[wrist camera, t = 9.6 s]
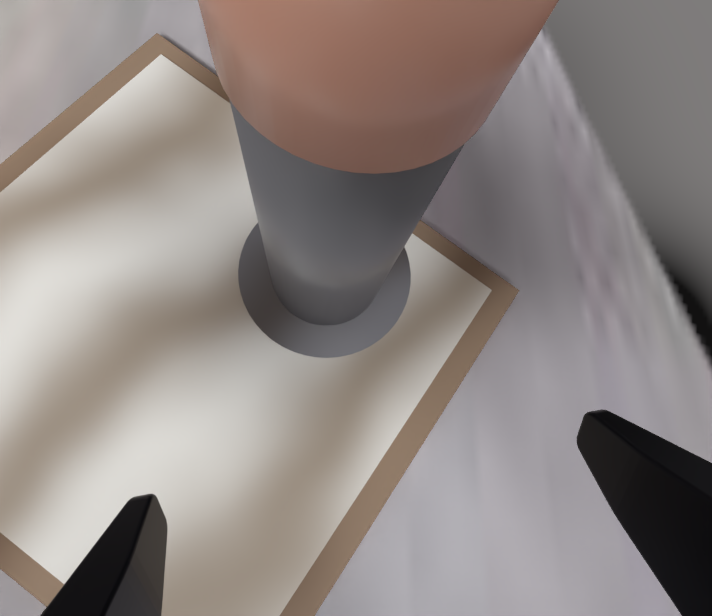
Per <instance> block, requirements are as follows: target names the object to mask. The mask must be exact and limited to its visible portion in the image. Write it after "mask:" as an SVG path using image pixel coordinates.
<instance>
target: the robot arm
mask: <svg viewBox="0 0 712 616" xmlns="http://www.w3.org/2000/svg"><path fill="white" fill-rule="evenodd" d="M577 445H578V448H579V450H580V452H581V454H582V456H583V458H584V460H585V461H586V463H587V465H588V467H589V469H590V471H591V473H592V474H593V476H594V478H595V480H596V482H597V484H598V485H599V487H600V489H601V491H602V493H603V495H604V496H605V498H606V500H607V502H608V504H609V505H610V507H611V509H612V511H613V512H614V514H615V516H616V517H617V519H618V520H619V522H620V524H621V525H622V527H623V528H624V530H625V531H626V533H627V534H628V536H629V537H630V539H631V540H632V542H633V543H634V545H635V546H636V548H637V549H638V551H639V552H640V554H641V555H642V557H643V558H644V560H645V561H646V563H647V564H648V566H649V567H650V569H651V570H652V572H653V573H654V575H655V576H656V578H657V579H658V581H659V582H660V584H661V585H662V587H663V588H664V590H665V591H666V593H667V594H668V596H669V597H670V599H671V600H672V602H673V603H674V605H675V606H676V608H677V609H678V610H679V612H680V613H681V615H682V616H712V463H710V462H708V461H706V460H704V459H703V458H701V457H699V456H697V455H695V454H693V453H691V452H689V451H687V450H685V449H683V448H681V447H679V446H677V445H675V444H673V443H671V442H669V441H667V440H665V439H663V438H661V437H659V436H657V435H655V434H653V433H651V432H649V431H647V430H645V429H643V428H641V427H639V426H637V425H635V424H633V423H631V422H629V421H627V420H625V419H623V418H621V417H619V416H617V415H615V414H613V413H611V412H609V411H607V410H596V411H591V412H587V413H586V414H585V415H584V417H583V420H582V423H581V426H580V429H579V432H578V435H577ZM167 531H168V529H167V520H166V517H165V515H164V513H163V510H162V508H161V506H160V503H159V501H158V498H157V497H156V495H154V494H146V495H140V496H135V497H132V498H131V499H130V500H128V501H127V503H126V504H125V505H124V507H123V508H122V509H121V510H120V512H119V513H118V514H117V516H116V517H115V518H114V520H113V521H112V522H111V524H110V525H109V526H108V528H107V529H106V530H105V531H104V533H103V534H102V535H101V537H100V538H99V539H98V541H97V542H96V543H95V545H94V546H93V547H92V548H91V550H90V551H89V552H88V554H87V555H86V556H85V558H84V559H83V560H82V562H81V563H80V564H79V566H78V567H77V568H76V569H75V571H74V572H73V573H72V575H71V576H70V577H69V579H68V580H67V581H66V583H65V584H64V585H63V587H62V588H61V589H60V590H59V592H58V593H57V594H56V596H55V597H54V598H53V600H52V601H51V602H50V604H49V605H48V606H47V608H46V609H45V610H44V611H43V613H42V614H41V615H40V616H161V613H162V601H163V588H164V574H165V560H166V546H167Z"/></svg>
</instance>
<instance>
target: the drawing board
mask: <svg viewBox="0 0 712 616" xmlns="http://www.w3.org/2000/svg"><path fill="white" fill-rule="evenodd" d="M518 292H519V290H518V289H516V288H515V287H514V286H512V285H511V284H509V283H508V282H507V281H505V280H504V279H502V278H501V277H500V276H498V275H497V274H495V273H494V272H493V271H491V270H490V269H488V268H487V267H486V266H484V265H483V264H481V263H480V262H478V261H477V260H476V259H474V258H473V257H471V256H470V255H469V254H467V253H466V252H464V251H463V250H462V249H460V248H459V247H457V246H456V245H455V244H453V243H452V242H450V241H449V240H447V239H446V238H445V237H443V236H442V235H440V234H439V233H438V232H436V231H435V230H433V229H432V228H431V227H429V226H428V225H426V224H425V223H424V222H422V221H421V220H420V221H419V222H418V224H417V226H416V227H415V229H414V231H413V233H412V234H411V236H410V238H409V239H408V241H407V243H406V244H405V246H404V248H403V250H402V251H401V253H400V255H399V256H398V258H397V260H396V262H395V263H394V265H393V267H392V268H391V270H390V272H389V274H388V275H387V277H386V279H385V280H384V282H383V284H382V285H381V287H380V289H379V291H378V292H377V294H376V296H375V297H374V299H373V301H372V302H371V304H370V305H369V306H368V308H367V309H366V310H365V311H364V312H363V313H361V314H360V315H359V316H357V317H356V318H354V319H352V320H350V321H347V322H345V323H341V324H338V325H316V324H312V323H308V322H306V321H304V320H301V319H299V318H298V317H296V316H294V315H293V314H292V313H291V312H289V311H288V310H287V309H286V308H285V307H284V306H283V304H282V303H281V302H280V300H279V298H278V297H277V295H276V293H275V290H274V287H273V283H272V279H271V275H270V271H269V266H268V262H267V258H266V254H265V249H264V245H263V241H262V236H261V232H260V228H259V224H258V219H257V215H256V211H255V207H254V202H253V198H252V194H251V190H250V185H249V181H248V177H247V172H246V168H245V164H244V160H243V155H242V151H241V147H240V143H239V138H238V134H237V130H236V125H235V121H234V117H233V113H232V108H231V104H230V100H229V97H228V96H227V94H226V92H225V91H224V89H223V87H222V85H221V82H220V80H219V77H218V76H217V75H215V74H214V73H212V72H211V71H210V70H208V69H207V68H205V67H204V66H203V65H201V64H200V63H198V62H197V61H195V60H194V59H193V58H191V57H190V56H188V55H187V54H186V53H184V52H183V51H181V50H180V49H179V48H177V47H176V46H174V45H173V44H172V43H170V42H169V41H167V40H166V39H165V38H163V37H162V36H160V35H159V34H157V33H156V34H155V35H154V36H153V37H152V38H151V39H149V40H148V41H147V42H146V43H145V44H143V45H142V46H141V47H140V48H139V49H137V50H136V51H135V52H134V53H133V54H131V55H130V56H129V57H128V58H127V59H125V60H124V61H123V62H122V63H121V64H120V65H118V66H117V67H116V68H115V69H114V70H112V71H111V72H110V73H109V74H108V75H106V76H105V77H104V78H103V79H102V80H100V81H99V82H98V83H97V84H96V85H94V86H93V87H92V88H91V89H90V90H89V91H87V92H86V93H85V94H84V95H83V96H81V97H80V98H79V99H78V100H77V101H75V102H74V103H73V104H72V105H71V106H69V107H68V108H67V109H66V110H65V111H63V112H62V113H61V114H60V115H59V116H58V117H56V118H55V119H54V120H53V121H52V122H50V123H49V124H48V125H47V126H46V127H44V128H43V129H42V130H41V131H40V132H38V133H37V134H36V135H35V136H34V137H32V138H31V139H30V140H29V141H28V142H26V143H25V144H24V145H23V146H22V147H21V148H19V149H18V150H17V151H16V152H15V153H13V154H12V155H11V156H10V157H9V158H7V159H6V160H5V161H4V162H3V163H1V164H0V569H1V570H2V571H4V572H5V573H6V574H7V575H8V576H10V577H11V578H12V579H13V580H14V581H16V582H17V583H18V584H19V585H21V586H22V587H23V588H24V589H25V590H27V591H28V592H29V593H30V594H32V595H33V596H34V597H35V598H36V599H38V600H39V601H40V602H41V603H43V604H44V605H45V606H46V607H47V606H48V605H49V604H50V602H51V601H52V600H53V598H54V597H55V596H56V594H57V593H58V592H59V590H60V589H61V588H62V587H63V585H64V584H65V583H66V581H67V580H68V579H69V577H70V576H71V575H72V573H73V572H74V571H75V569H76V568H77V567H78V566H79V564H80V563H81V562H82V560H83V559H84V558H85V556H86V555H87V554H88V552H89V551H90V550H91V548H92V547H93V546H94V545H95V543H96V542H97V541H98V539H99V538H100V537H101V535H102V534H103V533H104V531H105V530H106V529H107V528H108V526H109V525H110V524H111V522H112V521H113V520H114V518H115V517H116V516H117V514H118V513H119V512H120V510H121V509H122V508H123V507H124V505H125V504H126V503H127V501H128V500H130V499H131V498H132V497H135V496H140V495H146V494H154V495H156V497H157V498H158V501H159V503H160V506H161V508H162V510H163V513H164V515H165V517H166V520H167V529H168V531H167V546H166V560H165V574H164V588H163V601H162V613H161V616H315V614H316V612H317V611H318V609H319V608H320V606H321V605H322V603H323V601H324V600H325V598H326V597H327V595H328V593H329V592H330V590H331V589H332V587H333V585H334V584H335V582H336V581H337V579H338V578H339V576H340V574H341V573H342V571H343V570H344V568H345V566H346V565H347V563H348V562H349V560H350V558H351V557H352V555H353V554H354V552H355V551H356V549H357V547H358V546H359V544H360V543H361V541H362V539H363V538H364V536H365V535H366V533H367V531H368V530H369V528H370V527H371V525H372V524H373V522H374V520H375V519H376V517H377V516H378V514H379V512H380V511H381V509H382V508H383V506H384V504H385V503H386V501H387V500H388V498H389V497H390V495H391V493H392V492H393V490H394V489H395V487H396V485H397V484H398V482H399V481H400V479H401V477H402V476H403V474H404V473H405V471H406V470H407V468H408V466H409V465H410V463H411V462H412V460H413V458H414V457H415V455H416V454H417V452H418V450H419V449H420V447H421V446H422V444H423V443H424V441H425V439H426V438H427V436H428V435H429V433H430V431H431V430H432V428H433V427H434V425H435V423H436V422H437V420H438V419H439V417H440V416H441V414H442V412H443V411H444V409H445V408H446V406H447V404H448V403H449V401H450V400H451V398H452V396H453V395H454V393H455V392H456V390H457V389H458V387H459V385H460V384H461V382H462V381H463V379H464V377H465V376H466V374H467V373H468V371H469V369H470V368H471V366H472V365H473V363H474V362H475V360H476V358H477V357H478V355H479V354H480V352H481V350H482V349H483V347H484V346H485V344H486V342H487V341H488V339H489V338H490V336H491V335H492V333H493V331H494V330H495V328H496V327H497V325H498V323H499V322H500V320H501V319H502V317H503V315H504V314H505V312H506V311H507V309H508V308H509V306H510V304H511V303H512V301H513V300H514V298H515V296H516V295H517V293H518Z"/></svg>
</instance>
